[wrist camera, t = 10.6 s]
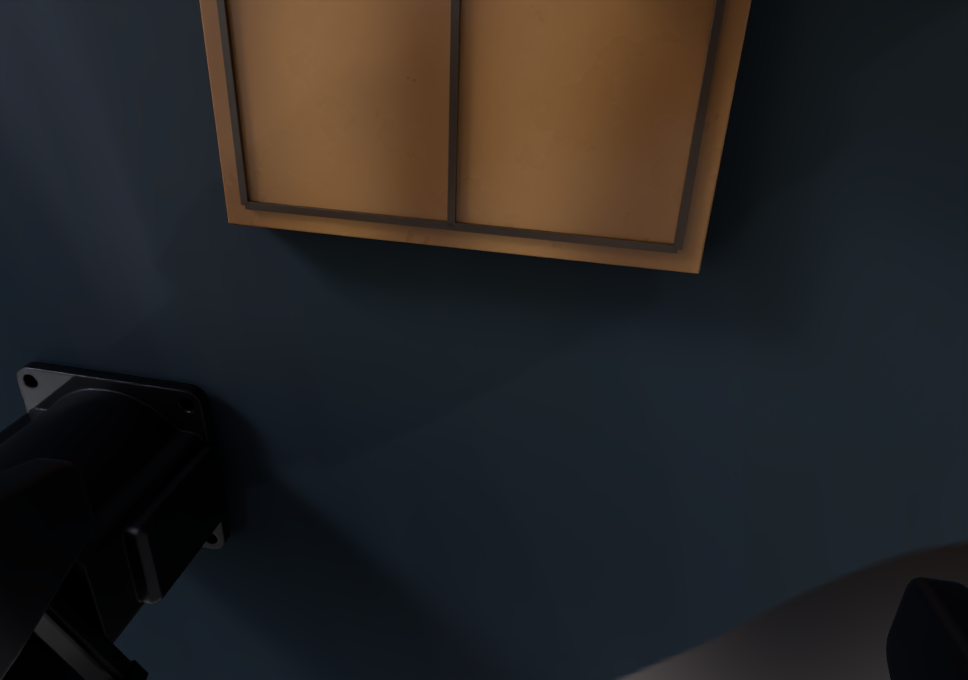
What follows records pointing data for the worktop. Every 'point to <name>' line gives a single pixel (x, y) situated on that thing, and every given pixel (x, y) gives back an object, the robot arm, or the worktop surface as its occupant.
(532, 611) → the worktop surface
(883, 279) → the worktop surface
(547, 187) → the wooden grid board
